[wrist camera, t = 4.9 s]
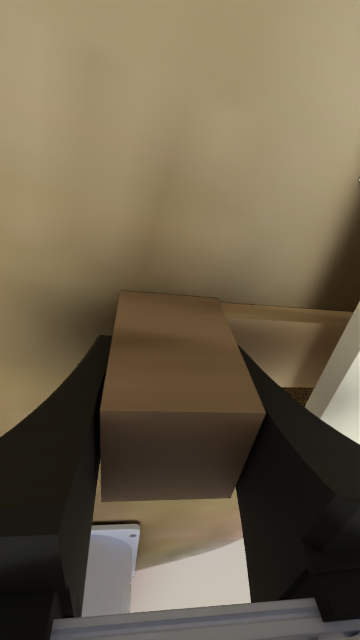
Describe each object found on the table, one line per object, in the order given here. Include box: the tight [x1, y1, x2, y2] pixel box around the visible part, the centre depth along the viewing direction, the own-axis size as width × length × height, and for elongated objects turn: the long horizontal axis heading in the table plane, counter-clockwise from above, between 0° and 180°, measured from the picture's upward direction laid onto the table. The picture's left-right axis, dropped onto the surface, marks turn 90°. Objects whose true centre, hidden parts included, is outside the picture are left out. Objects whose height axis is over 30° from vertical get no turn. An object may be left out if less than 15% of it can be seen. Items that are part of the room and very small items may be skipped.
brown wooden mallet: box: [100, 291, 354, 502], centre depth 11 cm, size 4×16×6 cm, turn 83°
